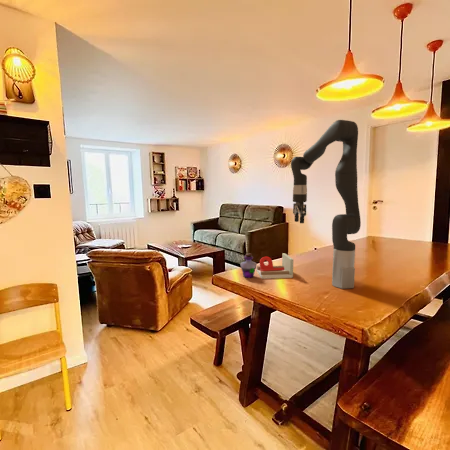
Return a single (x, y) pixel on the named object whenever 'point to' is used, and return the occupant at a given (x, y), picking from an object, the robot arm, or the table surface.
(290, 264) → the cleat board
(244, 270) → the potion bottle
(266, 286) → the table surface
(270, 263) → the bracket
